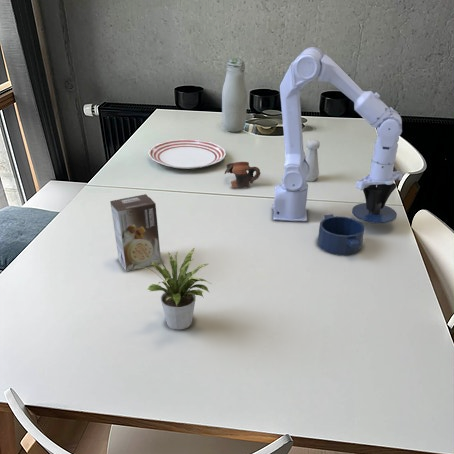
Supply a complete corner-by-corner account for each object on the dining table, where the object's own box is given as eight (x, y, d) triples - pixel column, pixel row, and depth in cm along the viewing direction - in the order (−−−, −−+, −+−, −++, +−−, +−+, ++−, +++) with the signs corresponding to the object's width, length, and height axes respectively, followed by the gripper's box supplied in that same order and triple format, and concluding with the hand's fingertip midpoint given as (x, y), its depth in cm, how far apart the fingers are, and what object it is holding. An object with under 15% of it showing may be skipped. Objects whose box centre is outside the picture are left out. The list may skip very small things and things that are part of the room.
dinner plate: (239, 156, 190) (240, 147, 188) (196, 180, 171) (196, 171, 169) (179, 142, 202) (179, 134, 200) (133, 164, 183) (132, 154, 181)
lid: (364, 227, 137) (366, 213, 135) (344, 208, 147) (346, 195, 144) (404, 222, 140) (407, 208, 137) (382, 204, 149) (385, 190, 147)
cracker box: (152, 251, 132) (147, 193, 123) (161, 263, 127) (157, 203, 118) (117, 260, 128) (109, 200, 119) (125, 272, 124) (118, 211, 115)
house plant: (150, 354, 99) (144, 283, 90) (132, 314, 110) (124, 247, 101) (219, 336, 104) (219, 266, 95) (195, 299, 115) (193, 233, 105)
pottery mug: (222, 189, 166) (219, 163, 165) (232, 191, 175) (229, 167, 174) (258, 184, 162) (255, 157, 161) (266, 187, 171) (264, 161, 170)
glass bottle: (220, 134, 212) (220, 60, 196) (224, 126, 220) (225, 55, 204) (244, 135, 210) (246, 61, 195) (247, 128, 219) (249, 56, 203)
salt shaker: (317, 183, 170) (321, 144, 162) (300, 181, 171) (303, 142, 163) (318, 176, 174) (322, 138, 167) (301, 175, 175) (305, 137, 168)
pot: (332, 263, 128) (335, 243, 125) (307, 232, 141) (309, 214, 138) (373, 257, 130) (377, 238, 127) (345, 227, 144) (347, 210, 141)
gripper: (373, 170, 129) (364, 220, 136) (415, 160, 135) (404, 208, 142) (354, 161, 134) (346, 209, 141) (395, 152, 140) (386, 199, 147)
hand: (374, 208), depth 142 cm, fingers closed on lid, 3 cm apart
